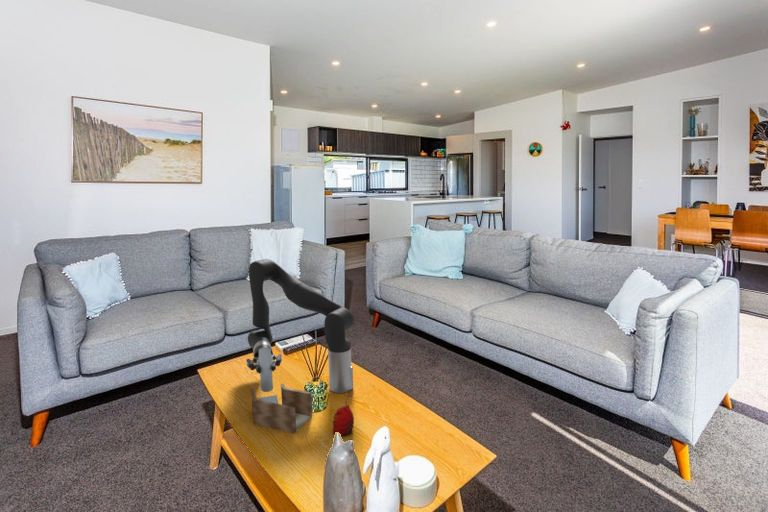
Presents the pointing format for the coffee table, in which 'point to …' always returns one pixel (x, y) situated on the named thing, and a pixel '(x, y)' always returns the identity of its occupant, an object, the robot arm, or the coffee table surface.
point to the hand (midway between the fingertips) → (266, 370)
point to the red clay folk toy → (343, 419)
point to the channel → (283, 410)
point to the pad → (270, 399)
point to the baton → (265, 369)
